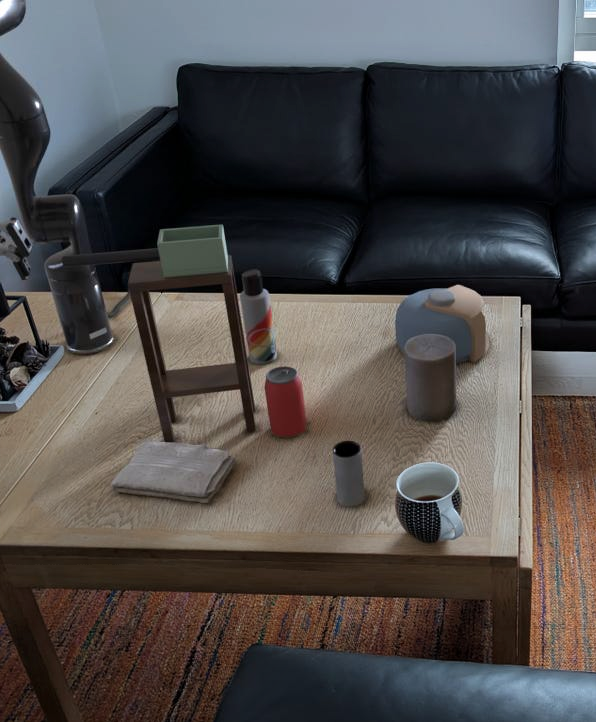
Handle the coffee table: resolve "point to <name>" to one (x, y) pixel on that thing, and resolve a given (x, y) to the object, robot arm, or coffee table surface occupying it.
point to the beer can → (285, 402)
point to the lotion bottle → (257, 318)
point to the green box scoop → (171, 252)
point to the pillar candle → (430, 376)
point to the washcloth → (175, 471)
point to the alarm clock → (445, 319)
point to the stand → (194, 378)
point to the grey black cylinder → (348, 473)
